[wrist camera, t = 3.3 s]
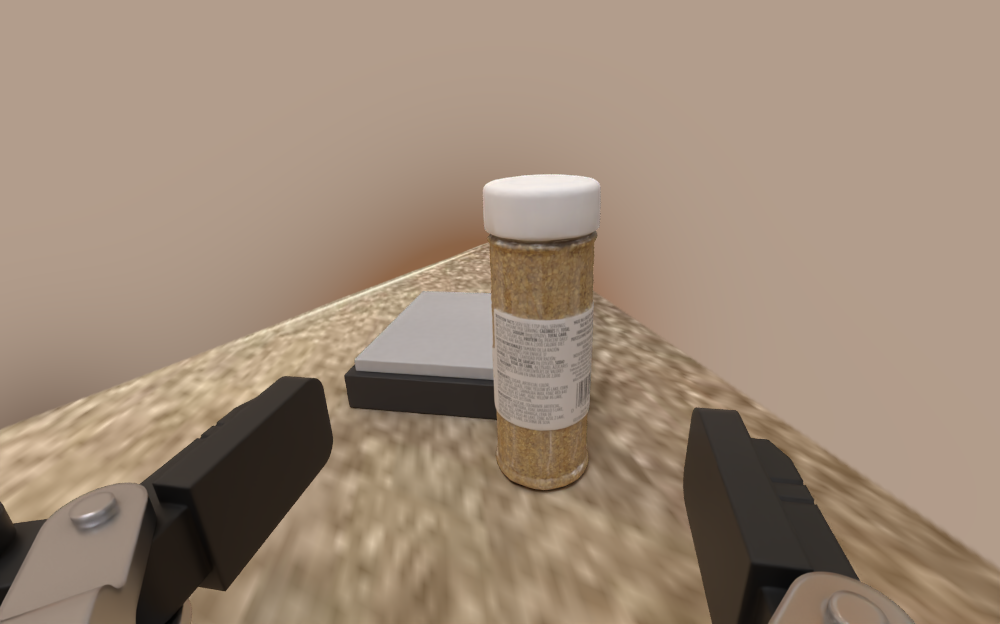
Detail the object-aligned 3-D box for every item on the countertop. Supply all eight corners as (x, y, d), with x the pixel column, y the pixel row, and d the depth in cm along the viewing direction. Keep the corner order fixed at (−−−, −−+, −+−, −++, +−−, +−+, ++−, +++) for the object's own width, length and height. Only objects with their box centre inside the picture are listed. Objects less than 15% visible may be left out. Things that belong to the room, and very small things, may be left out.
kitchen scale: (578, 327, 38) (579, 291, 37) (569, 425, 26) (570, 377, 25) (424, 320, 41) (420, 287, 39) (349, 407, 28) (341, 362, 27)
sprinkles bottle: (529, 423, 26) (526, 170, 21) (605, 454, 24) (622, 174, 19) (476, 469, 23) (457, 182, 18) (558, 511, 20) (562, 189, 15)
